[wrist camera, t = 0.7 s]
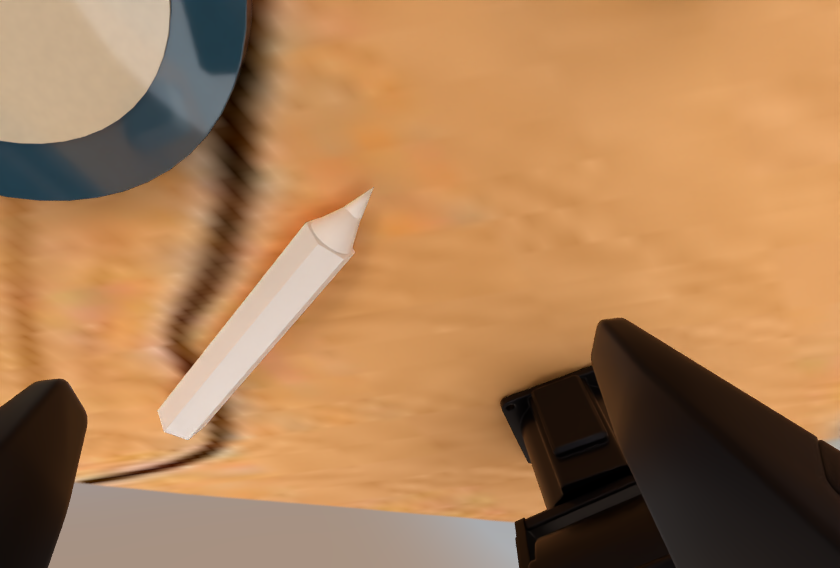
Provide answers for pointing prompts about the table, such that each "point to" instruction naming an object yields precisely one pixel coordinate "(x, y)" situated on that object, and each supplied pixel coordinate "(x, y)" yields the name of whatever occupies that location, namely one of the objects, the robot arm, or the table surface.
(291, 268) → the beige long bar
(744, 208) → the table surface
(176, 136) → the plate
